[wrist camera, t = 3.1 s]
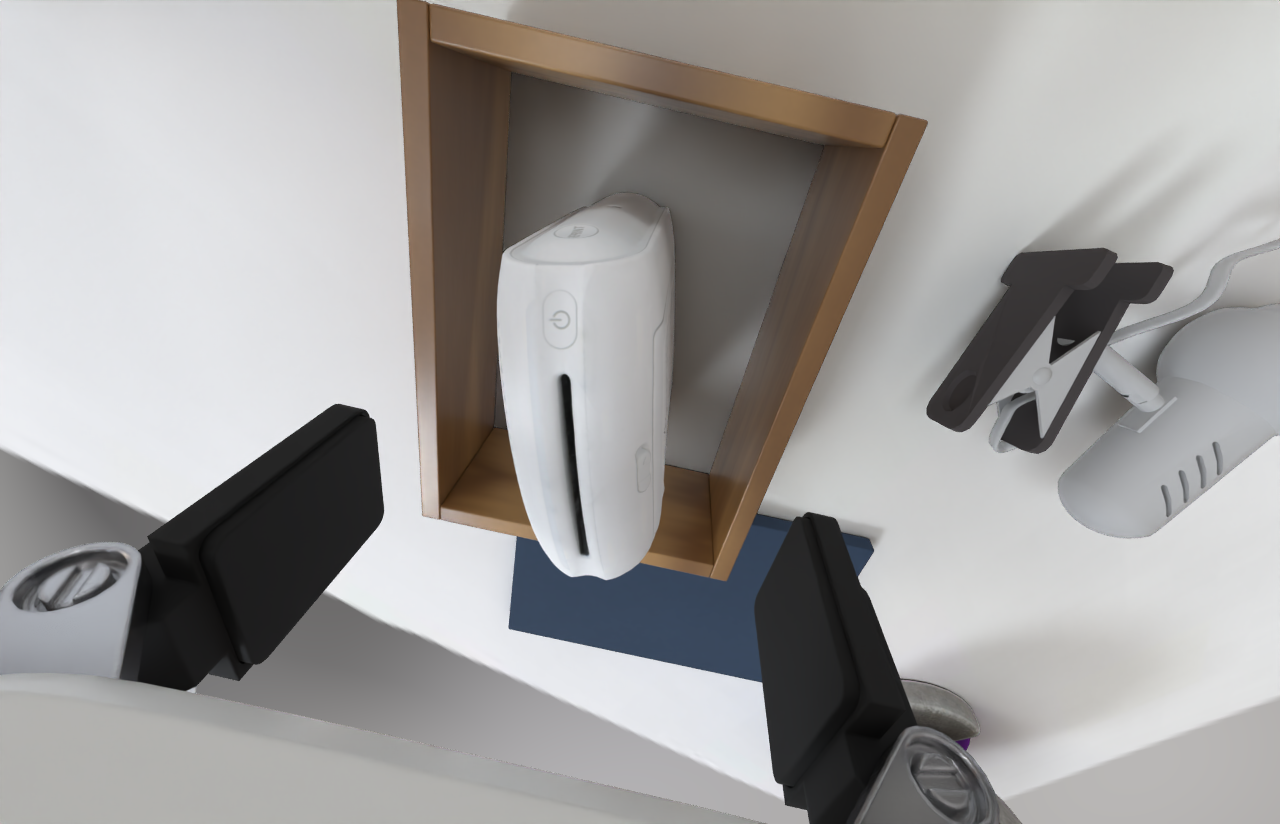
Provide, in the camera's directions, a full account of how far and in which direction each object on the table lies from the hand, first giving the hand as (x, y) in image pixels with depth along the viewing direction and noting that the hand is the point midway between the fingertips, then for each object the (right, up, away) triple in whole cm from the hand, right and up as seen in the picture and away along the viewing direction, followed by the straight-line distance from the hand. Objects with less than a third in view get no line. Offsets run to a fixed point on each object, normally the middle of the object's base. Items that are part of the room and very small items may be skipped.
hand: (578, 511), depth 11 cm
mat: (+3, -9, +20) cm, 22 cm away
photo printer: (+1, +7, +11) cm, 13 cm away
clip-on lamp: (+23, +7, +9) cm, 25 cm away
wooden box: (+1, +7, +11) cm, 13 cm away
